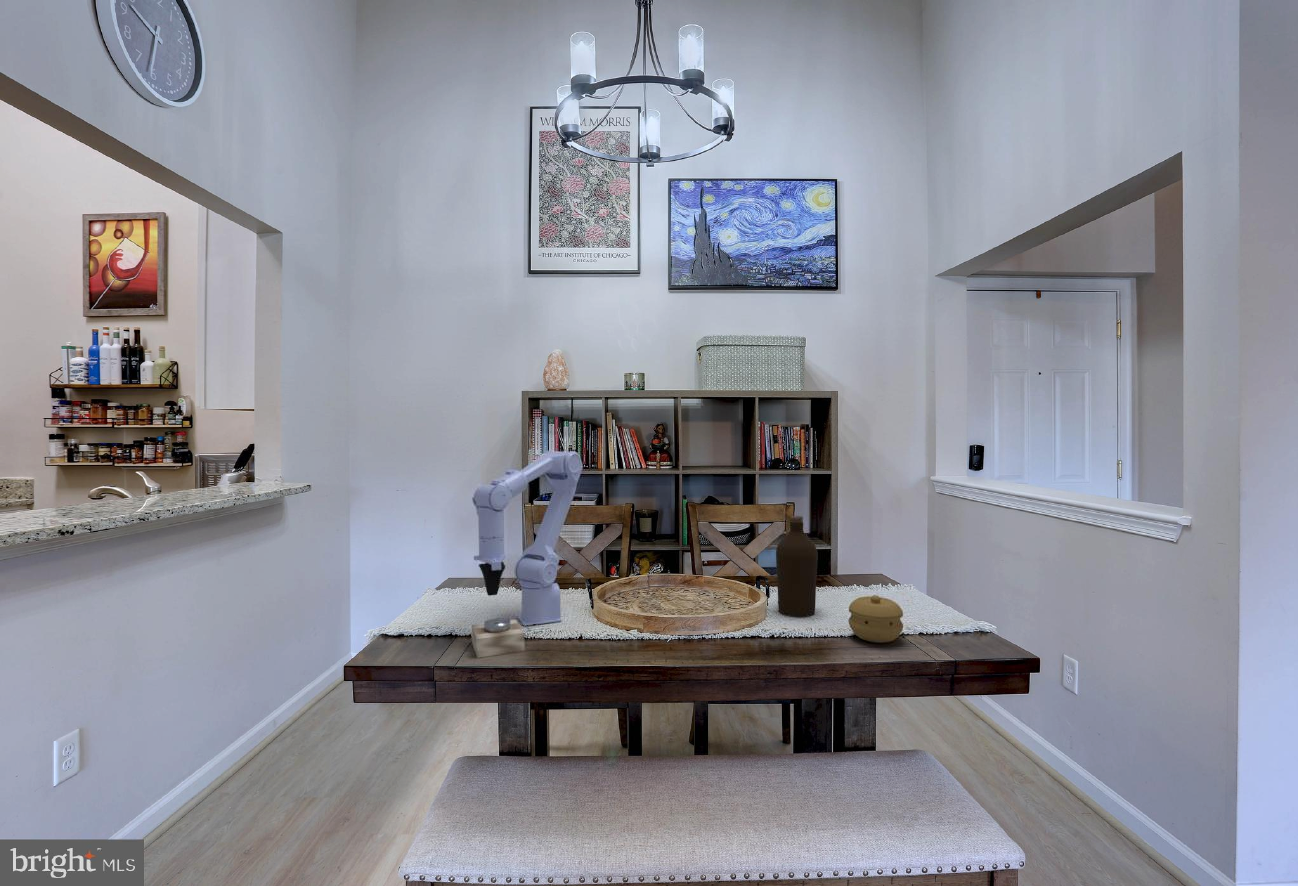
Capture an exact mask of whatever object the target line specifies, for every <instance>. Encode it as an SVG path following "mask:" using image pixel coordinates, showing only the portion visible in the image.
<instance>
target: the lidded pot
mask: <svg viewBox="0 0 1298 886" xmlns="http://www.w3.org/2000/svg"><path fill="white" fill-rule="evenodd" d="M848 612H849V613H850V616H849V618H848V619H847V620H848V625H849V627H850V629H851V631H852V632H853V633H854V634H855V636H856V637H858V638H859V639H862V640H864V641H867V642H871V643H879V644H884V643H890V642H893V641H894V640H896V639H897V638H898V637H899V636H900V635H901V634H902V632H903V628H904V623H903V622H902V620H901V619H902V618H903V616H904V611H903V609H902V607H901V606H900V605H899V604H898V603H897V602H896V601H895V600H892V599H889V598H887V597H880V595H876V594H874V595H872V596H871V595H870V596H867V595H866V596H860V597H858V598H856V599H854V600H853V601H852V602H851V603H850V604H849V606H848Z"/></svg>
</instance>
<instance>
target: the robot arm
mask: <svg viewBox="0 0 1298 886" xmlns="http://www.w3.org/2000/svg"><path fill="white" fill-rule="evenodd" d="M581 458H582V457H581V456H580V454H579V453H578V452H576V451H573V450H572V451H557V450H556V451H553V450H546V451H545V452H544V453H541V454H539V457H537V458H536V459H535V460H534V461H531V462H530V463H529V464H528V465H527V466H525V467H524V468H522V469H521V470H520V471H519V470H517V469H508V470H506V471H505V474H504V475H502V476H500V477H499V478H494V479H492V481H491V482H490V484H481V485H480V486H478V487H477V489H476V490H475V492H474V494H473V496H472V497H471V498H472V499H471V500H472V503H473V506H474V507H475V509H476V510H475V511H476V515H477V516H478V517H477V518H478V521H477V522H478V523H477V524H478V555H473V560H474V561H480V562H483V563H478V567H479V569H480V571H481V573H482V574H481V575H482V576H483V580H484V585H485V589H486V590H485V592H486V595H487V596H488V597H489V596H498V593H499V589H500V583H501V580H502V575H503V573H504V571H505V569H506V564H505V563H504V560H505V559H506V554H505V519H504V518H505V515H504V513H505V512H504V510H506V508H507V507H508V505H509V503H510V501H511V500H512V499H514V498H515V497H516V496H519V494H522V493H524V492H525V491H526V490H527V487H528V484H529V483H530V482H532V481H534V480H535V479H538V478H539V477H542V476H543V475H544V476H545V477H546V480H547V481H548V482H549V484H550V485H551V486H552V487H553V491H552V495H551V497H550V499H549V503H548V506H547V507H546V510H545V513H544V515H543V519H542V521H541V523H540V526H539V529H538V532H537V534H536V536H535V540H534V541H533V544H532V545H530V546H529V547H527V548H526V549H524V550H523V552H522V555H521V556H520V557H519V559H518V560H517V561H516V562H515V566H514V576H515V578H516V579H517V581H519V586H521V614H518V615H517V618H518V620H519V621H520V623H521V624H522V625H523V626H524V627H527V625H528V626H534V625H533V624H536V625H541V624H543V625H544V624H549V623H557V622H561V621H562V617H561V615H562V614H561V612H562V611H561V610H562V609H561V590H560V586H559V584H558V583H557V582H555V581H556V578H557V577H558V576H557V575H558V567H559V563H560V559H559V557H558V555H557V553H556V552H555V548H556V547H557V546H556V545H557V543H558V540H559V538H560V535H561V532H562V529H563V526H564V524H565V521H566V518H567V516H568V514H569V510H570V507H571V505H572V502H573V499H574V496H575V495H576V494H575V493H576V490H577V484H578V481H579V480H580V476H581V474H582V470H583V468H584V466H583V462H582V459H581Z"/></svg>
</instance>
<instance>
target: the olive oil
mask: <svg viewBox="0 0 1298 886" xmlns="http://www.w3.org/2000/svg"><path fill="white" fill-rule="evenodd" d="M803 519H804V517H803V516H801V515H791V516H790V522H789V531H788V532H787V534H786V535H785V536H784V537H783V538H782V539H780V541H779V542H778V543H777V547H776V550H775V560H776V561H775V562H776V580H777V583H776V584H777V606H778V607H777V609H778V610H777V611H778V612H779V613H780V614H782V615H784V616H787V617H795V618H807V617H812V616H813V615H815V613H816V602H817V601H816V597H817V595H816V594H817V575H818V560H819V554H818V549H817V546H816V544H815V542H813V540H812V539H810V537H809V536H808V535H807V534H806V532H804V522H803V521H804V520H803Z"/></svg>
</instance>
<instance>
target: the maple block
mask: <svg viewBox="0 0 1298 886" xmlns="http://www.w3.org/2000/svg"><path fill="white" fill-rule="evenodd" d="M509 620H510V629H509V630H507V631H505V632H500V633H488V632H486V631H484V623H476V624H471V644H472V646H473V650H474V652H475V655H476V658H484V657H492V656H499V655H505V654H511V653H517V652H518V653H519V652H525V646H526V645H525V631H524V630H523V628H522V626H521V625H520V624H519V622H518V620H517V619H516V618H515V619H509Z"/></svg>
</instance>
